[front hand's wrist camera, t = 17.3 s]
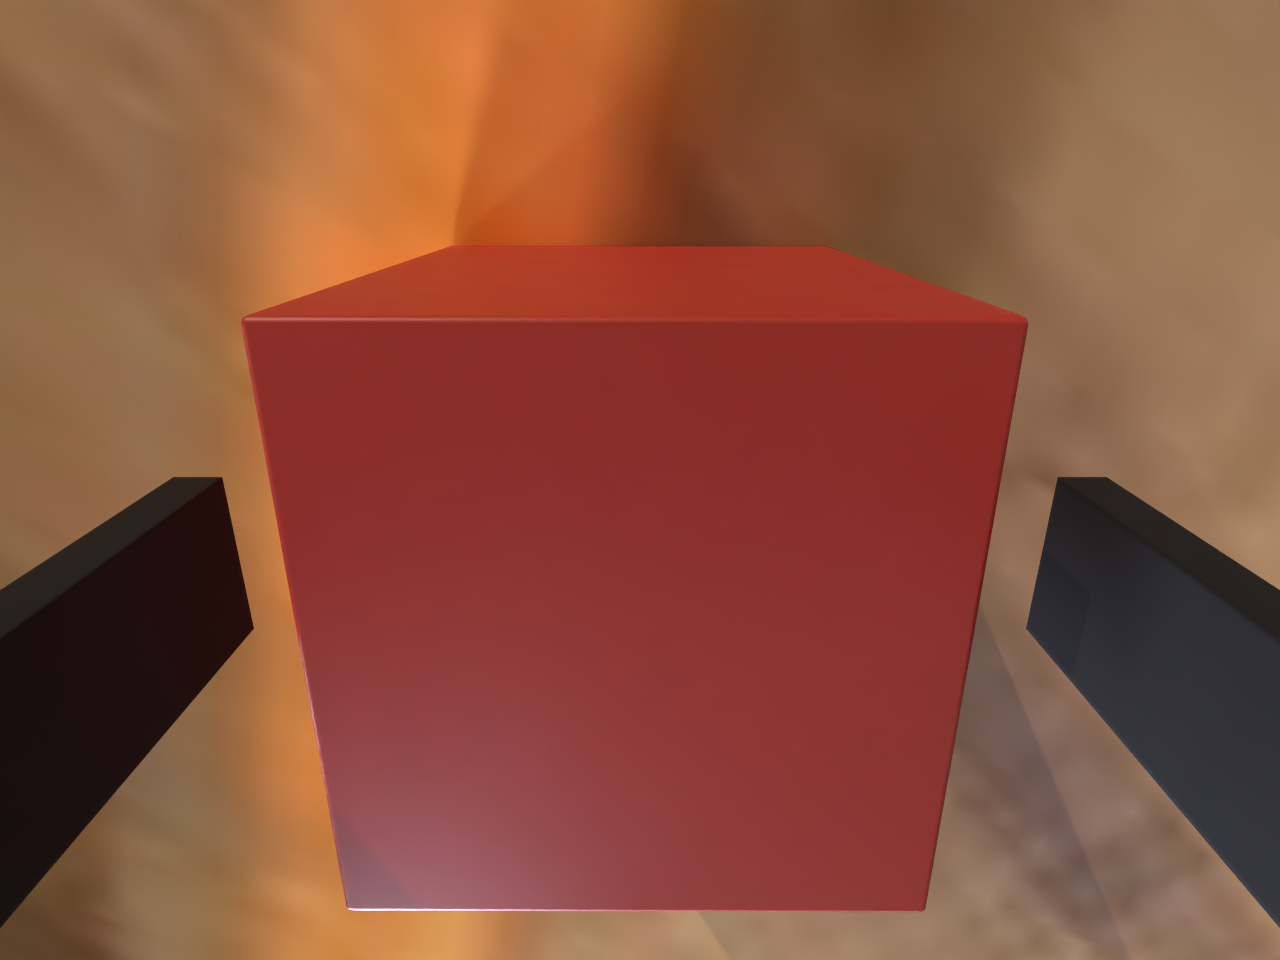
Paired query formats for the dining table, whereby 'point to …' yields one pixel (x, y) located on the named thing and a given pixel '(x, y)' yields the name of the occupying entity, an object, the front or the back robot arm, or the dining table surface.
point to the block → (635, 569)
